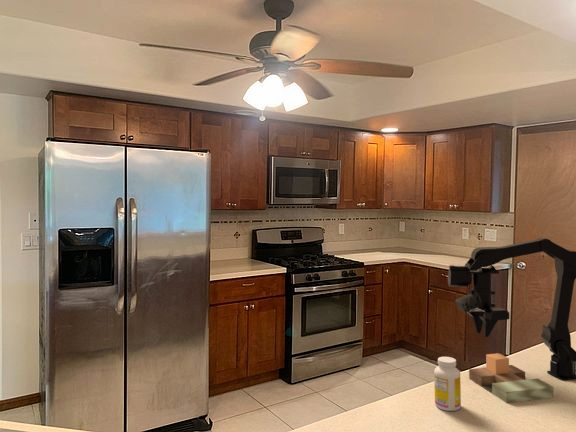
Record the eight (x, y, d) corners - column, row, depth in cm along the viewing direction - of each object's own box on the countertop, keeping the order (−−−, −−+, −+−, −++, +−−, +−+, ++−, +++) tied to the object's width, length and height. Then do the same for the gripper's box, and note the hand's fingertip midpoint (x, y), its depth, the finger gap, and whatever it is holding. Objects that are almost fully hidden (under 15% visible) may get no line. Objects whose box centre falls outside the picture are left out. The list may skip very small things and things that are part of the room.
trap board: (511, 374, 140) (511, 364, 140) (553, 397, 123) (553, 386, 123) (469, 378, 137) (469, 369, 137) (506, 402, 120) (506, 392, 120)
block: (499, 367, 138) (499, 353, 138) (508, 372, 133) (508, 358, 133) (486, 368, 137) (486, 354, 137) (495, 374, 133) (495, 359, 132)
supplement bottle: (456, 401, 122) (456, 355, 122) (464, 412, 115) (463, 364, 115) (432, 400, 123) (431, 354, 122) (437, 411, 116) (437, 363, 116)
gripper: (443, 283, 149) (444, 328, 150) (477, 294, 131) (477, 346, 131) (473, 281, 151) (473, 326, 152) (510, 292, 133) (510, 343, 133)
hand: (482, 334), depth 142 cm, fingers open, 4 cm apart
